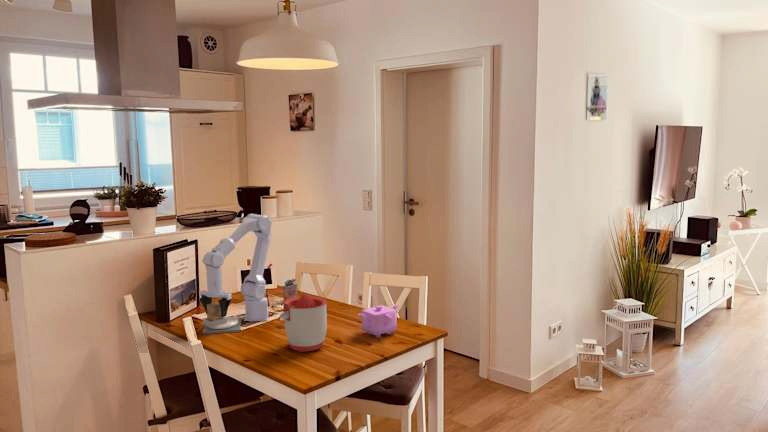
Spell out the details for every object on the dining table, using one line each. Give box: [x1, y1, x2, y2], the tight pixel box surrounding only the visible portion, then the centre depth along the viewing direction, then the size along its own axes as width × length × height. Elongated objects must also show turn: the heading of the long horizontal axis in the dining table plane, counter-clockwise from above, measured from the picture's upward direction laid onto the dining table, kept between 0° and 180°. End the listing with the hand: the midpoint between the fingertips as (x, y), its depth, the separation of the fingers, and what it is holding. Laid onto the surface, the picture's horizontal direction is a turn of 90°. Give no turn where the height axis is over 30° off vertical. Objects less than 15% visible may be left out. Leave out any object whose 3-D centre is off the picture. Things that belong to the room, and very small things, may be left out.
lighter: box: [282, 278, 298, 303], centre depth 279 cm, size 8×3×10 cm, turn 143°
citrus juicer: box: [279, 293, 328, 353], centre depth 217 cm, size 16×17×20 cm
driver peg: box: [206, 302, 222, 322], centre depth 238 cm, size 4×4×8 cm
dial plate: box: [201, 318, 243, 335], centre depth 242 cm, size 14×14×1 cm
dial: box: [202, 316, 239, 329], centre depth 241 cm, size 13×12×3 cm
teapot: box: [357, 304, 400, 338], centre depth 232 cm, size 15×13×11 cm
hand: (216, 315), depth 238 cm, fingers open, 7 cm apart
